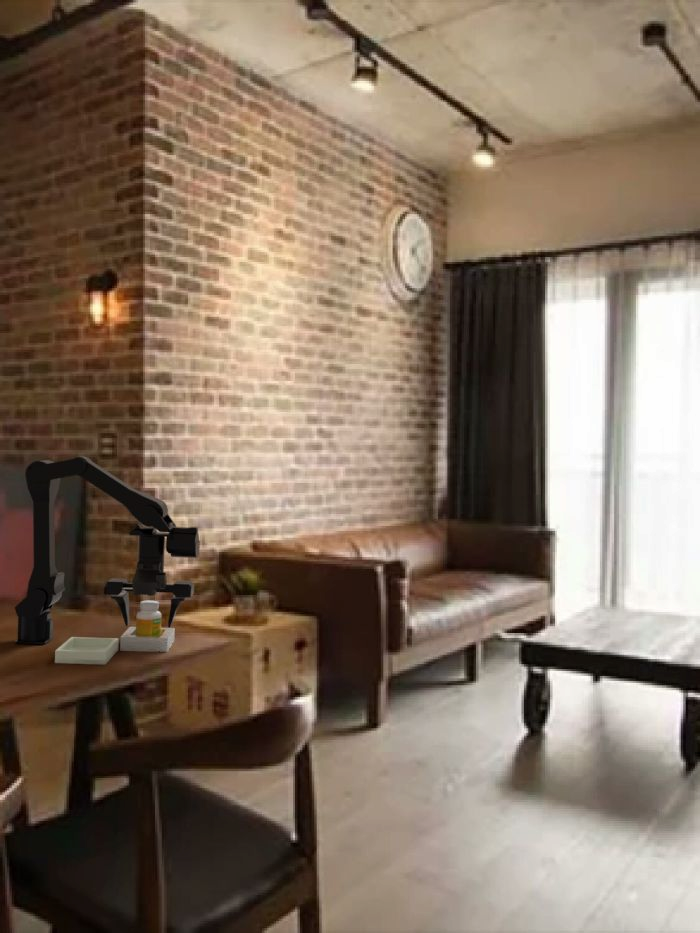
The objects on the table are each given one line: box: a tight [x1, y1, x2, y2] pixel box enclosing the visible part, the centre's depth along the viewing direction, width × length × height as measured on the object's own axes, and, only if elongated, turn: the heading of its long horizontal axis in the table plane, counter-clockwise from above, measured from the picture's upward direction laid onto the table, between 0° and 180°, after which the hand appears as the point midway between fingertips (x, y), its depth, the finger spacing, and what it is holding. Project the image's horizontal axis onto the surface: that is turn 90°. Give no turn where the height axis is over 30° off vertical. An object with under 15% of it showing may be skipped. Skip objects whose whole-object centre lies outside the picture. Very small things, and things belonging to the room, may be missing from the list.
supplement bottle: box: [135, 600, 162, 636], centre depth 191 cm, size 5×5×10 cm
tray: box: [54, 636, 120, 665], centre depth 180 cm, size 10×12×2 cm
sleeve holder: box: [119, 626, 176, 653], centre depth 191 cm, size 10×10×3 cm
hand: (148, 626), depth 191 cm, fingers open, 9 cm apart
